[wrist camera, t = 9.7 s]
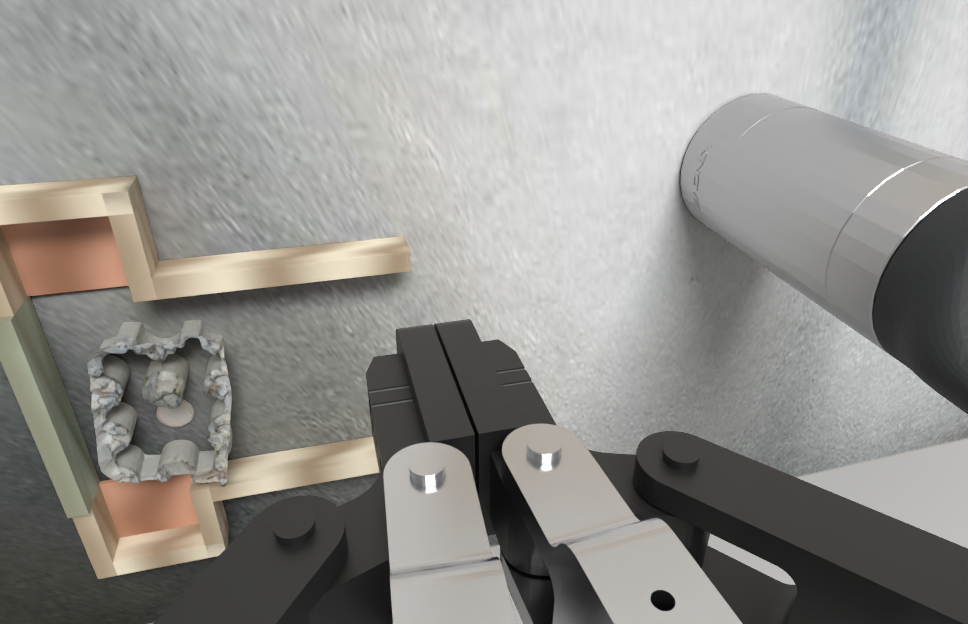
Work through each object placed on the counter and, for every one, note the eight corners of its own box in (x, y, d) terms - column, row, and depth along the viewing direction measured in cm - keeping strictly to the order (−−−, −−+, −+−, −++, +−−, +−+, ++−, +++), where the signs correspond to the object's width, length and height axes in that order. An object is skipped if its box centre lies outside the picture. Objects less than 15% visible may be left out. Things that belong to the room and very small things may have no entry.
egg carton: (234, 451, 46) (231, 493, 43) (112, 456, 44) (98, 501, 40) (233, 316, 41) (229, 351, 38) (96, 313, 39) (78, 350, 36)
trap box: (398, 156, 39) (406, 172, 36) (419, 492, 52) (426, 520, 49) (-39, 188, 34) (-65, 209, 31) (106, 550, 47) (96, 585, 45)
